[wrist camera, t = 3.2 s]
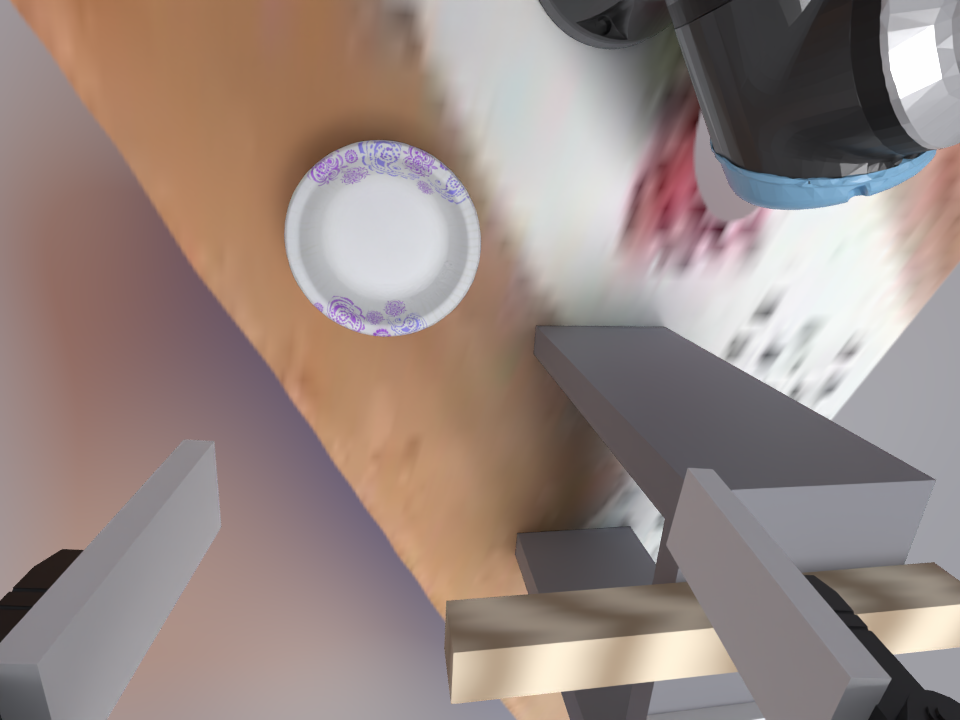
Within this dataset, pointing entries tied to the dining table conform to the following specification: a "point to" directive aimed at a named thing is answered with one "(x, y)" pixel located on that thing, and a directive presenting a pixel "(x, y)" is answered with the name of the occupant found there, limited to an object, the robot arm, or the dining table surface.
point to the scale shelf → (743, 468)
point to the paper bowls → (382, 238)
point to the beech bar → (661, 631)
